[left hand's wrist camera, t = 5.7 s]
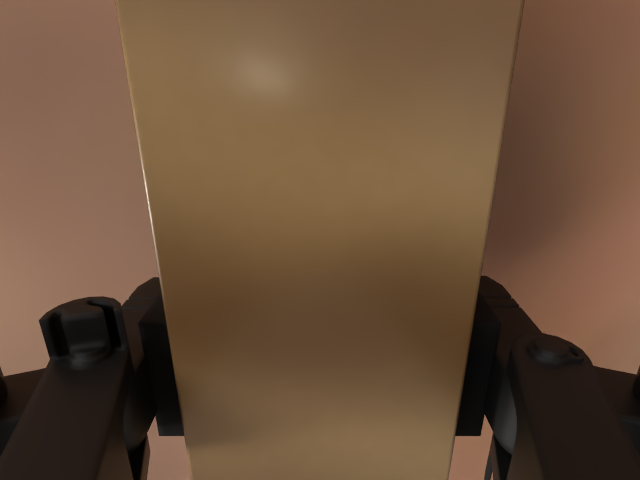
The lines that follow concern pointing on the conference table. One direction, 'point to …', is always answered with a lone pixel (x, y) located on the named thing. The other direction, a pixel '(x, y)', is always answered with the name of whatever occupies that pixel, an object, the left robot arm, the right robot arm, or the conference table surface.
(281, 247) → the post
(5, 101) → the conference table surface
